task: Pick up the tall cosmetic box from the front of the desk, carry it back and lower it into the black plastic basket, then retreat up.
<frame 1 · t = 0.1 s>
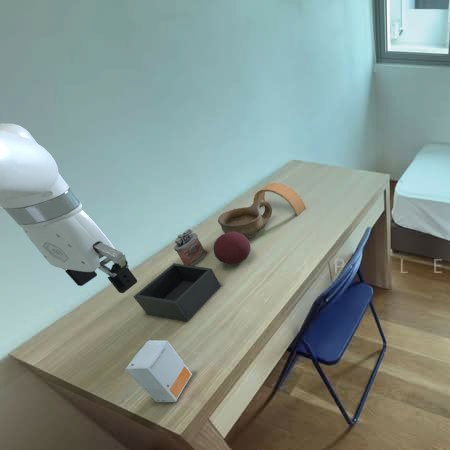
hand: (108, 284, 58), 22 cm above the table, tool pointing down, fingers open, 9 cm apart
bowl: (252, 230, 111), on the table
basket: (185, 299, 84), on the table
arch: (280, 209, 122), on the table
decorative ball: (238, 261, 97), on the table
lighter: (196, 260, 98), on the table
cosmetic box: (176, 388, 64), on the table
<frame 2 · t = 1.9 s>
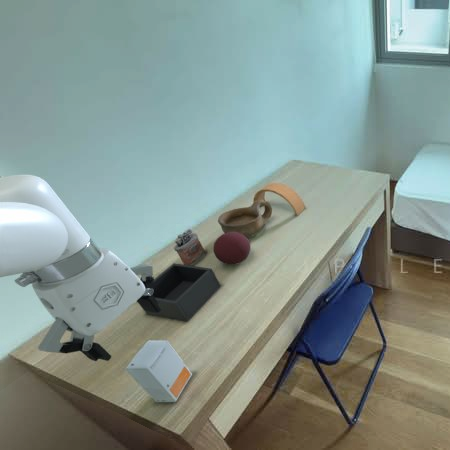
hand: (130, 332, 54), 18 cm above the table, tool pointing down, fingers open, 9 cm apart
nothing on the table moved.
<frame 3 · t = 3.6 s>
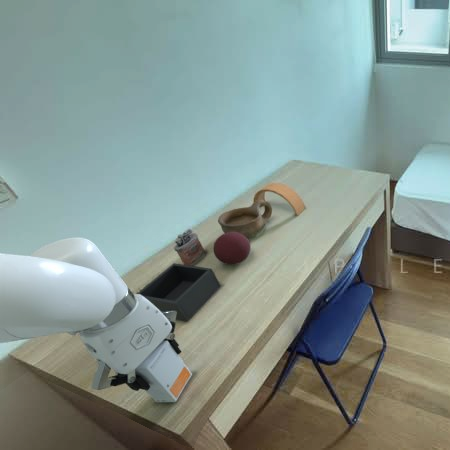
hand: (159, 368, 60), 7 cm above the table, tool pointing down, fingers closed on cosmetic box, 6 cm apart
cosmetic box: (176, 388, 64), on the table, touching gripper
everything else where it was.
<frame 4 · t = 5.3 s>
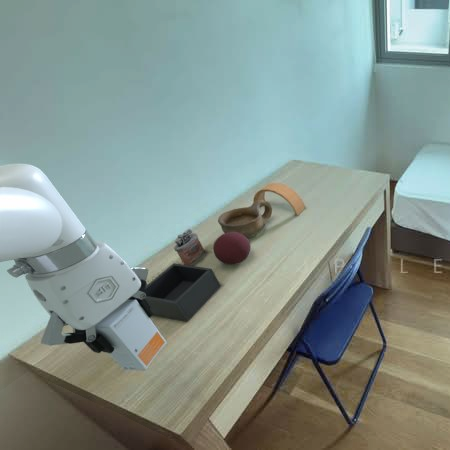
hand: (126, 331, 53), 19 cm above the table, tool pointing down, fingers closed on cosmetic box, 6 cm apart
cosmetic box: (147, 356, 57), point 11 cm above the table, touching gripper
everything else where it was.
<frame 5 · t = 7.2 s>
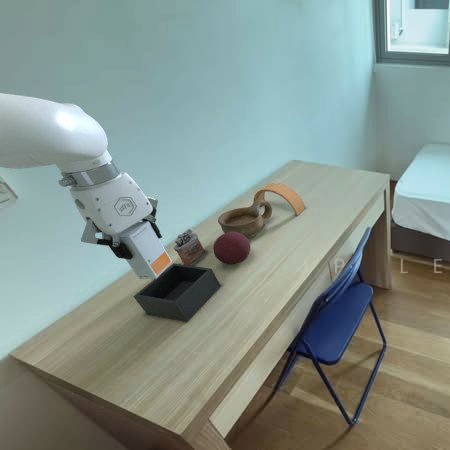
hand: (141, 246, 68), 22 cm above the table, tool pointing down, fingers closed on cosmetic box, 6 cm apart
cosmetic box: (157, 270, 72), point 14 cm above the table, touching gripper
everything else where it was.
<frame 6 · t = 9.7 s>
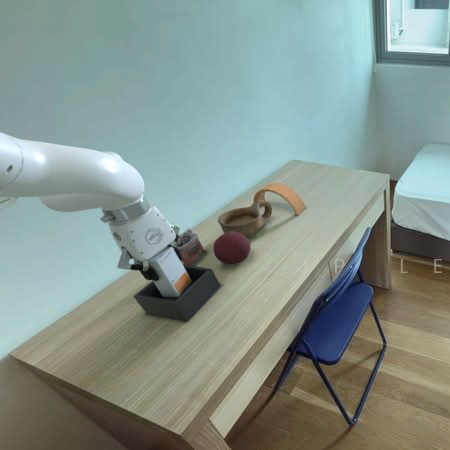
hand: (166, 268, 78), 11 cm above the table, tool pointing down, fingers closed on cosmetic box, 6 cm apart
cosmetic box: (178, 289, 82), point 4 cm above the table, touching gripper
everything else where it was.
when the fingers open (8 cm above the table, at t = 11.2 s): cosmetic box stays where it is, resting on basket.
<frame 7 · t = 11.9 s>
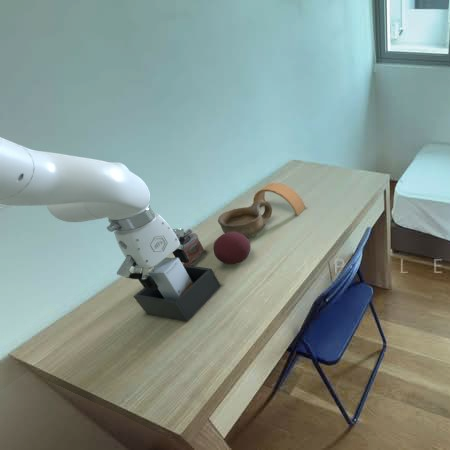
hand: (168, 274, 78), 10 cm above the table, tool pointing down, fingers open, 9 cm apart
cosmetic box: (184, 298, 84), point 1 cm above the table, touching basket
everything else where it was.
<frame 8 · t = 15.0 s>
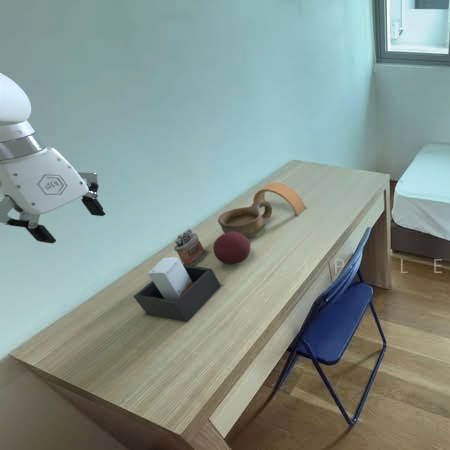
hand: (75, 227, 64), 28 cm above the table, tool pointing down, fingers open, 9 cm apart
nothing on the table moved.
at the end: cosmetic box inside the target area in the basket (0.1 cm from its centre), point 0.6 cm above the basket's base; the gripper is holding nothing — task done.
